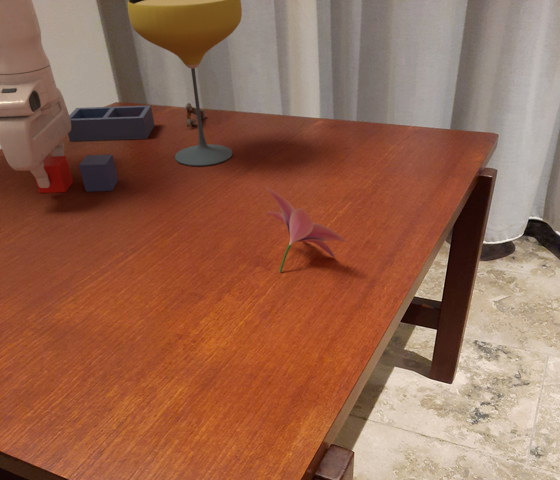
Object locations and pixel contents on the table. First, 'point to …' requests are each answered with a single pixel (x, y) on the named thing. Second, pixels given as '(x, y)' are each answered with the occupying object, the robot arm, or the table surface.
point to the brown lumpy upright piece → (193, 110)
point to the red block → (57, 174)
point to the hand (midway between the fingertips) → (53, 177)
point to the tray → (111, 123)
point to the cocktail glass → (188, 48)
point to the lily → (302, 226)
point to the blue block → (98, 173)
